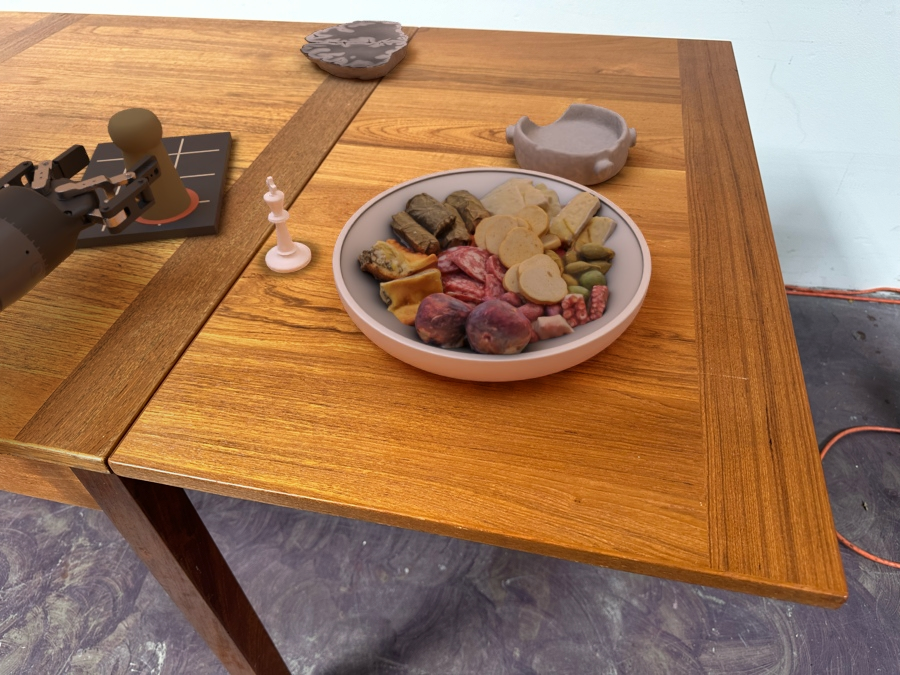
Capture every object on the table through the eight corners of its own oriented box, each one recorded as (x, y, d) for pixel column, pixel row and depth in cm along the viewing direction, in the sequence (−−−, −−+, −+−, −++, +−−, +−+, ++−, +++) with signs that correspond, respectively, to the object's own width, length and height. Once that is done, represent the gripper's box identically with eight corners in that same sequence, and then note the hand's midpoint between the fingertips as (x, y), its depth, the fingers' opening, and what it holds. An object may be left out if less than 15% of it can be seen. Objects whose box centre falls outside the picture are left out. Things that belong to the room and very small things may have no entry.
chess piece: (276, 281, 68) (254, 197, 61) (258, 257, 71) (235, 174, 64) (320, 264, 70) (304, 181, 63) (301, 241, 73) (283, 159, 66)
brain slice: (316, 38, 116) (313, 20, 113) (413, 38, 115) (412, 20, 113) (292, 86, 102) (289, 67, 99) (403, 86, 101) (401, 67, 99)
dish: (491, 163, 84) (493, 126, 80) (560, 125, 91) (563, 90, 87) (585, 207, 77) (590, 168, 73) (651, 162, 83) (659, 125, 80)
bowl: (349, 209, 77) (341, 147, 72) (606, 199, 78) (616, 137, 72) (325, 408, 56) (310, 342, 50) (680, 393, 56) (703, 326, 51)
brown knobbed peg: (195, 189, 78) (165, 98, 70) (185, 218, 74) (152, 125, 66) (143, 192, 78) (107, 102, 70) (130, 222, 73) (90, 129, 66)
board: (58, 252, 72) (51, 240, 71) (102, 153, 88) (97, 142, 87) (217, 236, 74) (213, 224, 73) (233, 141, 89) (230, 130, 88)
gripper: (52, 225, 52) (168, 131, 63) (-90, 201, 55) (44, 115, 66) (90, 297, 58) (191, 198, 69) (-42, 272, 61) (75, 181, 72)
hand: (119, 157), depth 68 cm, fingers open, 8 cm apart
